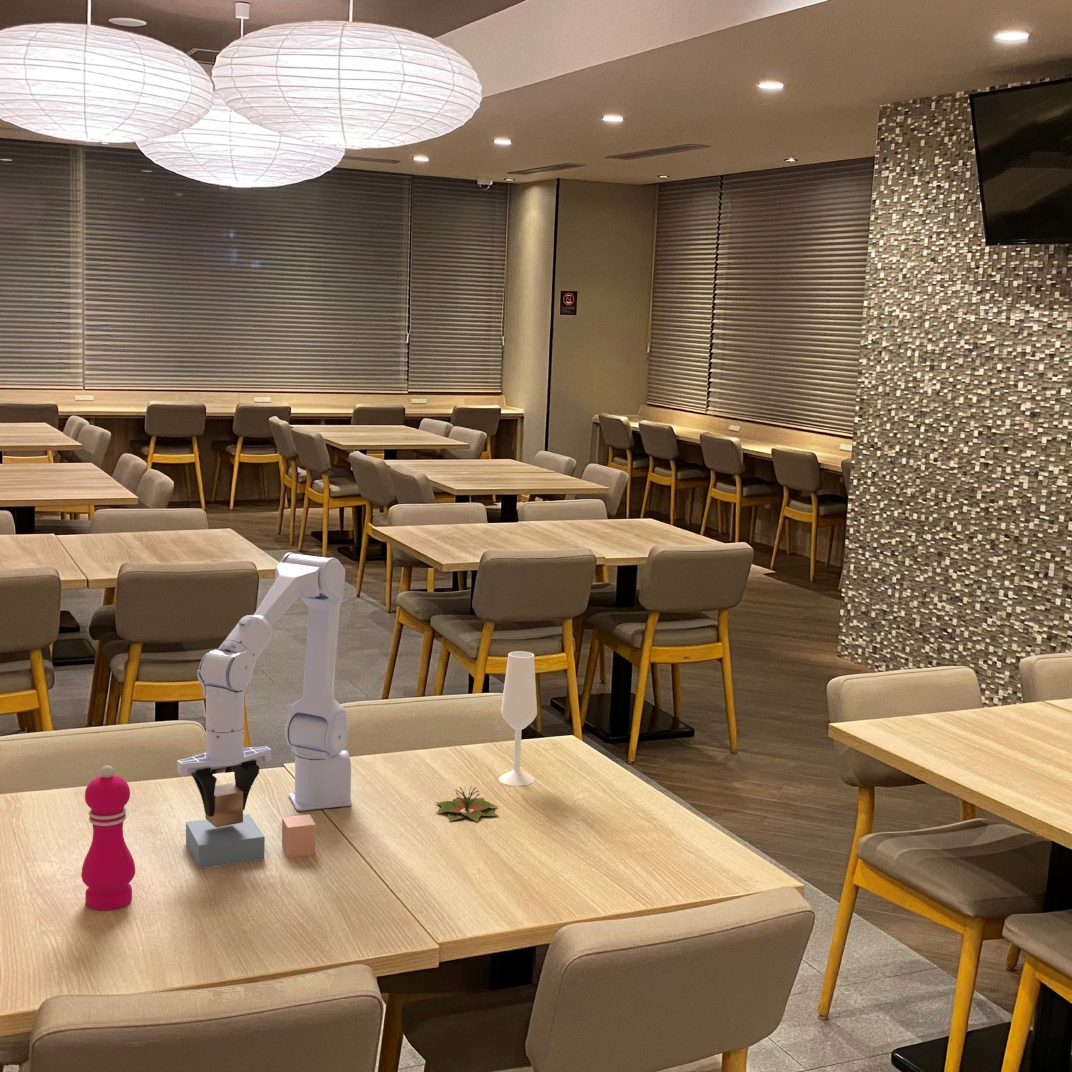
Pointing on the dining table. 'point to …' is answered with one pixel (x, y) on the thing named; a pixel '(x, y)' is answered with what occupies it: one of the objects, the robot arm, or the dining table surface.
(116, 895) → the pepper mill
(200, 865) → the base block
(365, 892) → the dining table surface
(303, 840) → the terracotta block
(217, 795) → the walnut block
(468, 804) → the lily flower
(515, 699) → the champagne flute
